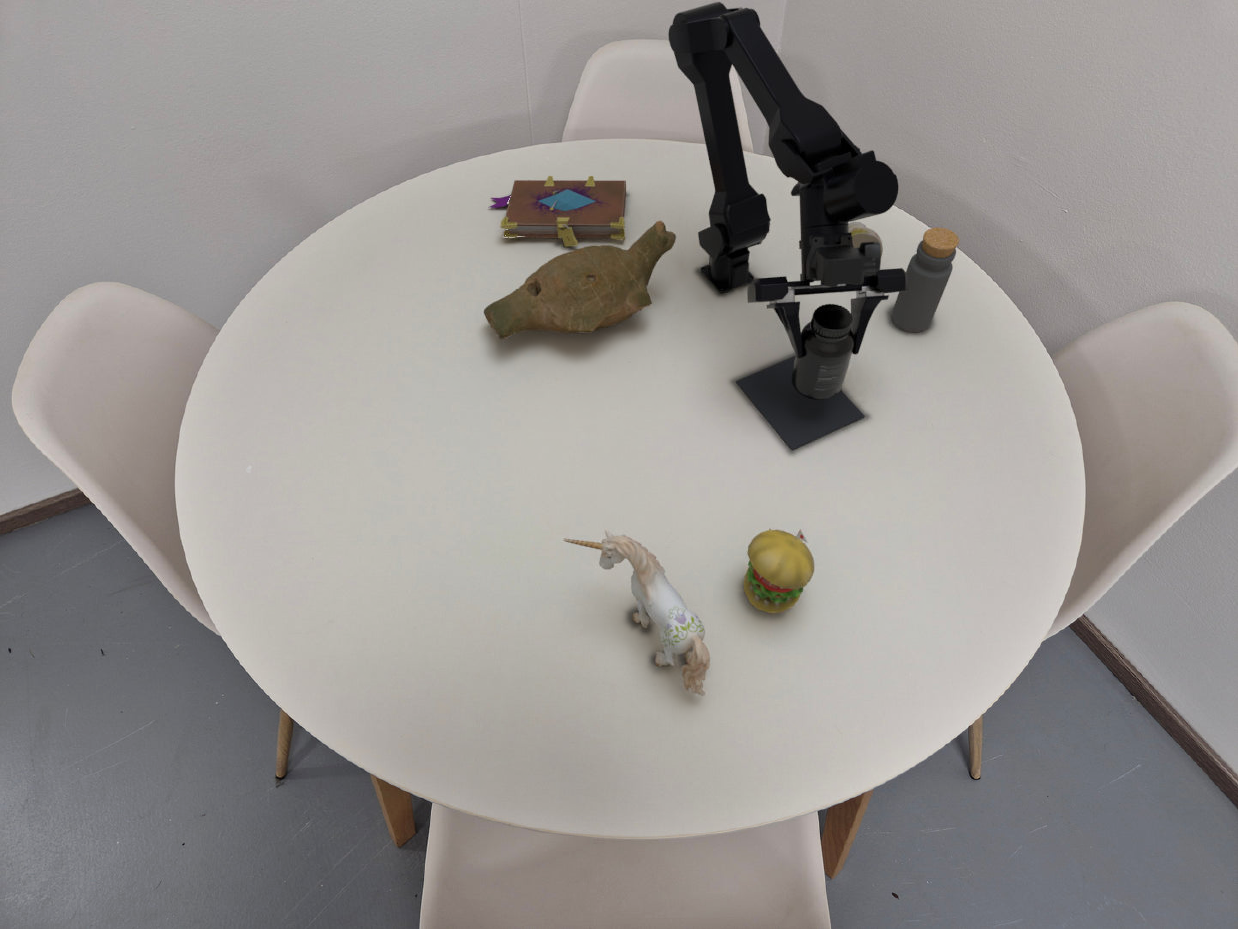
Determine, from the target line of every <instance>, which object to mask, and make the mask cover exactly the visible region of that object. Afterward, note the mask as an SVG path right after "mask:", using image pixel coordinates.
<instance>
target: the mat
mask: <svg viewBox="0 0 1238 929" xmlns="http://www.w3.org/2000/svg"><path fill="white" fill-rule="evenodd" d="M795 356H796V355H794V356H792V357H791V356H790V357H789V358H786V359H784V360H781V361H780V362H777V363H775V364H772V365H770V366H768V367H765V368H763V369H761V370H758V371H756V372H754V373H751V374H749V375H747V376H743V377H741V378H740V379H737V380H735V383H736V385H737V386H738V387H739V388H740V390H741V391H742V392H743V393H744V395H745V396H746V397H747V398H748V399H749V400H750V401H751V403H752V404H753V406H755V408H756V409H757V410H758V412H760V414H761V415H762V416H763V417H764V419H765V420H766V421H767V423H769V425H770V426H771V427H772V428H773V430H774V431H775V432H776V433H777V434H778V436H779V437H780V438H781V439H782V441H784V443H785V444H786V445H787V446H788V448H789V449H790V450H791V451H794V450H795V451H796V450H798V449H799V448H801V447H803V446H805V445H807V444H810V443H811V442H815V441H816V440H819V439H821V438H823V437H825V436H827V435H829V434H832V433H834V432H836V431H838V430H840V429H842V428H844V427H847V426H849V425H851V424H853V423H855V422H857V421H859V420H862V419H864V418H865V414H864V413H863V411H861V410H860V409H859V408H858V407H857V406H856V404H855V403H853V401H852V400H851V399H850V398H849V397H848V396H847V395H846V394H845V393H844V391H842V390H840V391H839V392H838V393H837V394H836V395H835V396H833V397H831V398H829V399H825V400H814V399H809V398H807V397H804V396H803V395H801V394H800V393H798V392H797V391H796V389H795V388H794V386H793V384H792V380H791V377H792V371H793V366H794V361H795Z"/></svg>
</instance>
